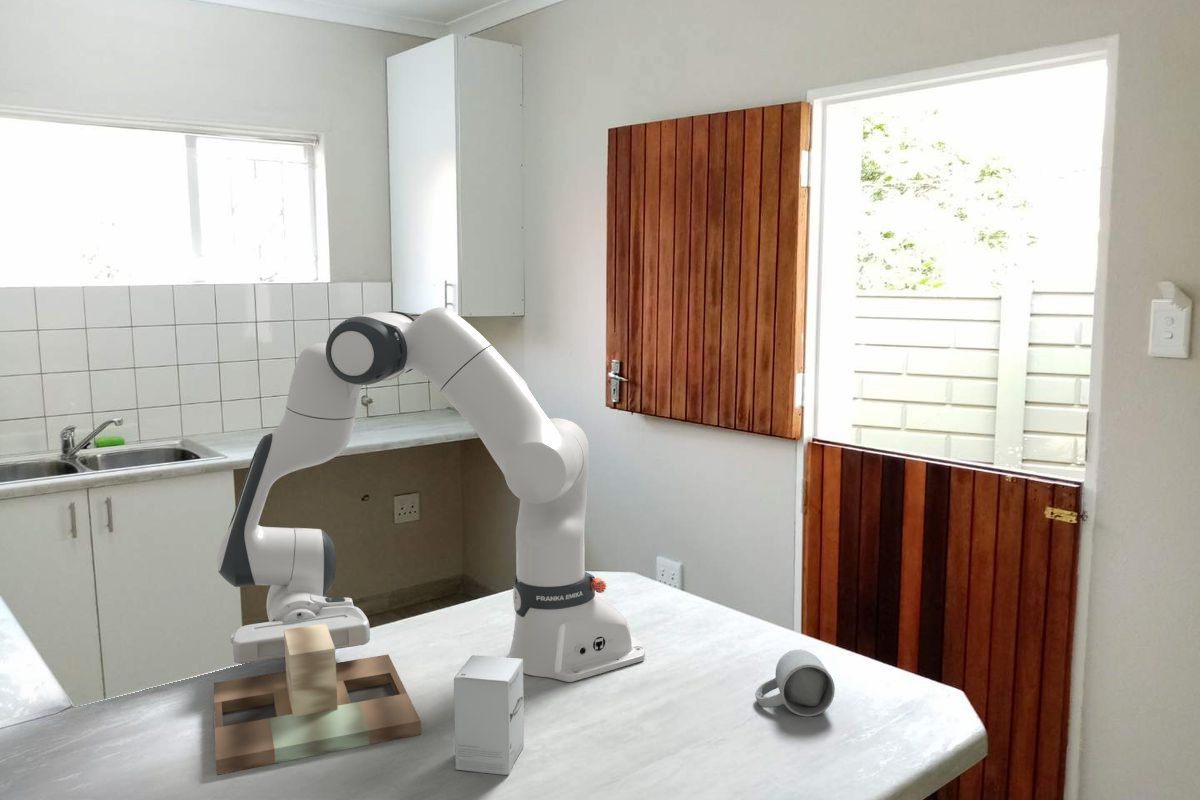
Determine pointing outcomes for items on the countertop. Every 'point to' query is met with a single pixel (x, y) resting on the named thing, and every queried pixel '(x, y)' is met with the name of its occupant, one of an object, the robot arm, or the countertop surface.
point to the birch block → (310, 669)
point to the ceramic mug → (799, 685)
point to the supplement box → (489, 714)
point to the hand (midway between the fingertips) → (306, 655)
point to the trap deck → (309, 716)
